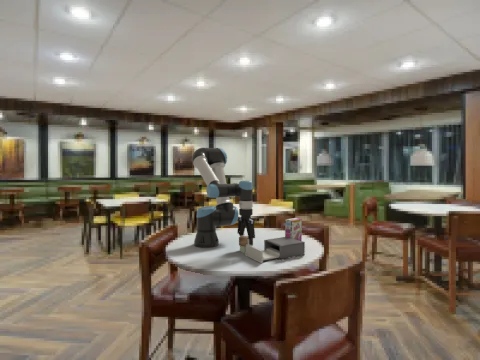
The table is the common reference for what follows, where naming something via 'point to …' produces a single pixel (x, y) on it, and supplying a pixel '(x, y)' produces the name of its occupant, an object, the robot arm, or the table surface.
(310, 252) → the table surface
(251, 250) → the cream pull-out drawer
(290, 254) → the housing
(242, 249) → the pale green block
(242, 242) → the brown flattened rounded piece
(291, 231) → the candy bar box
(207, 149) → the robot arm
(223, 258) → the table surface
